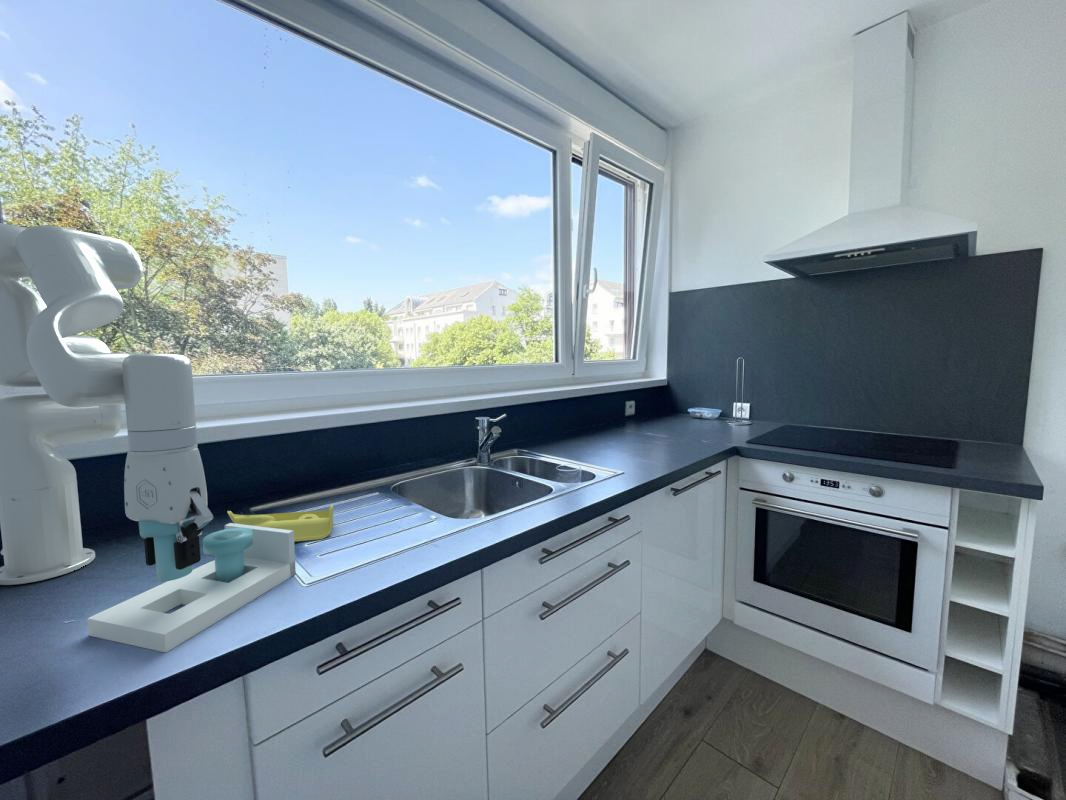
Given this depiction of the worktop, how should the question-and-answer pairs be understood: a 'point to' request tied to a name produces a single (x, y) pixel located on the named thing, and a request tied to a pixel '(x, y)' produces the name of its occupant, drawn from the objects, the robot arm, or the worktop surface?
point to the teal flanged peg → (228, 551)
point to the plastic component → (292, 523)
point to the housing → (198, 596)
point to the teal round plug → (165, 547)
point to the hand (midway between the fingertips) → (173, 562)
